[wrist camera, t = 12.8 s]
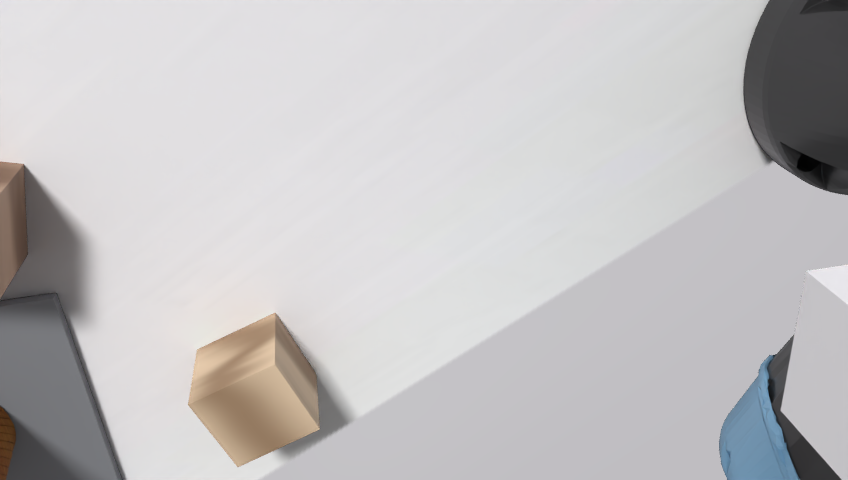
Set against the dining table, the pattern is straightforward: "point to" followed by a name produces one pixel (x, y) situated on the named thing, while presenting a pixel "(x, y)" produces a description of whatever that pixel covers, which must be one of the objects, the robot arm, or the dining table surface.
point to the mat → (49, 397)
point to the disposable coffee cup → (6, 442)
